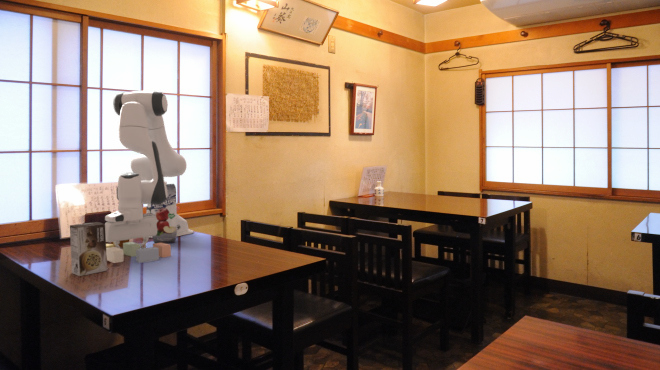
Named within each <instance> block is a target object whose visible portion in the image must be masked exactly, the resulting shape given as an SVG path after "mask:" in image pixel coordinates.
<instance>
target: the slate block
mask: <svg viewBox="0 0 660 370" xmlns="http://www.w3.org/2000/svg"><path fill="white" fill-rule="evenodd" d="M135 260H136V261H135V262H137V263H139V264H141V263H142V264H143V263H149V262H155V261H159V260H160V257H159V248H156V247H153V246H152V247H146V248H143V249H141V248H140V249H136V256H135Z"/></svg>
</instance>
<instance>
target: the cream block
mask: <svg viewBox="0 0 660 370" xmlns="http://www.w3.org/2000/svg"><path fill="white" fill-rule="evenodd" d="M106 255H107V262H110V263H113V264H116V263H122V262H124V254H123V249H120V248H117V247H111V248H106Z"/></svg>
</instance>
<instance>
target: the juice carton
mask: <svg viewBox="0 0 660 370" xmlns="http://www.w3.org/2000/svg"><path fill="white" fill-rule="evenodd" d="M165 184H166V187H167V191H168V195H167V199H166V200H165V201H164V202H163V203H162V204H160V205H155V204H151V213H153V214H155V216H156V225H157V234H156V235H155V236H152V238H151V239H152V240H153V241H152V242H153V244H155V243H165V244H172V243H175V242H176V239H177V236H176V235H177V214H178V213H177V212H178V211H177V207H176V206H177V188H176V185H175V184H174V183H167V181H165Z"/></svg>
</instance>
